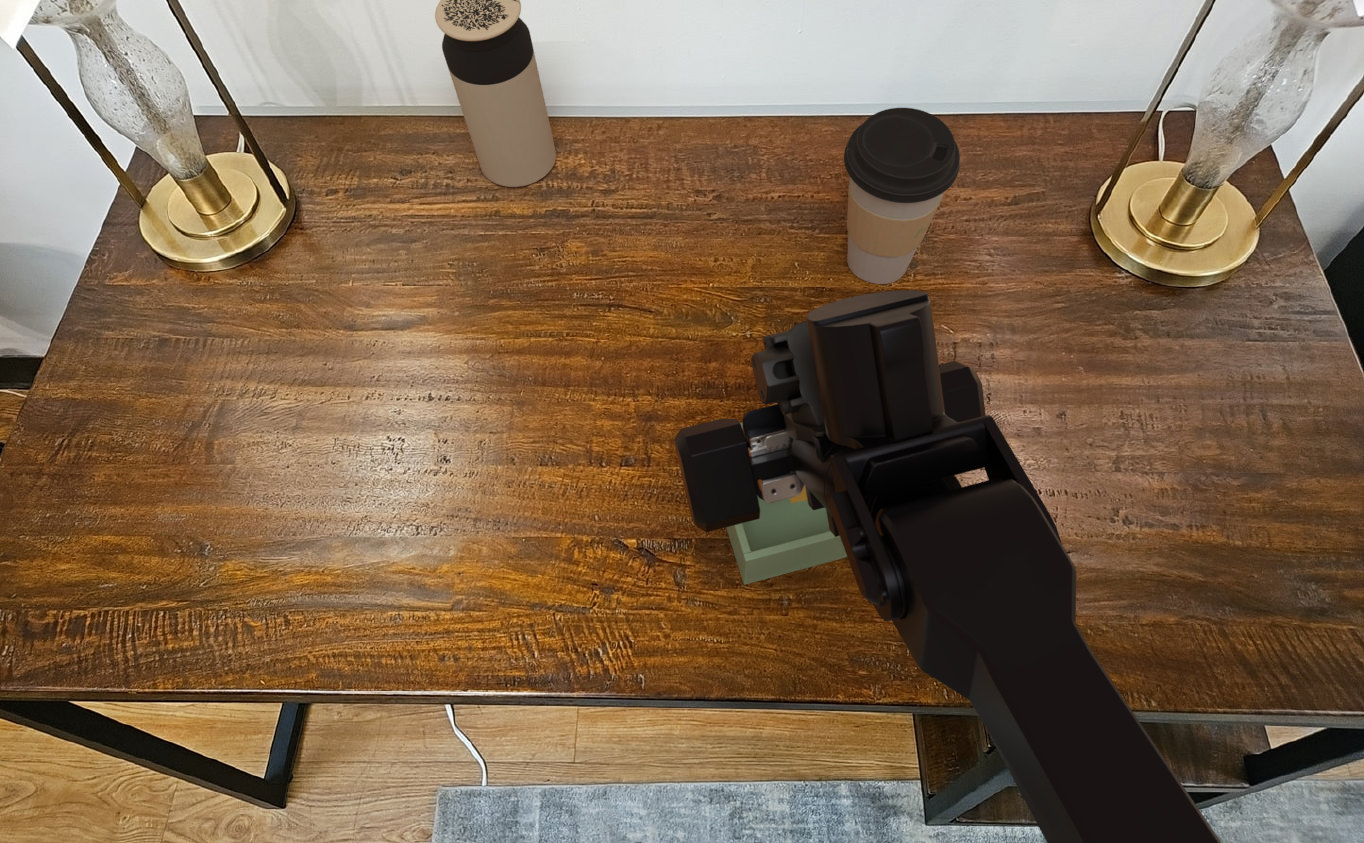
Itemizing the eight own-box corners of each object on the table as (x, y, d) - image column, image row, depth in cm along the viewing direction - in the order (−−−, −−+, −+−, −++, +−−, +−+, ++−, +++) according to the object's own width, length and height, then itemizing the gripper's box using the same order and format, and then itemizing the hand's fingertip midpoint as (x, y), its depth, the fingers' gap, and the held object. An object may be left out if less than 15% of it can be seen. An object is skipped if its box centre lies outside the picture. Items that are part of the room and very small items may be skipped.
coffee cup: (935, 296, 83) (976, 181, 69) (833, 302, 83) (855, 188, 70) (917, 219, 87) (953, 97, 74) (821, 224, 87) (839, 103, 74)
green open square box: (877, 549, 71) (889, 522, 66) (743, 585, 70) (745, 561, 65) (831, 430, 76) (838, 397, 71) (705, 462, 75) (704, 431, 70)
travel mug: (518, 201, 90) (476, 51, 74) (464, 165, 93) (412, 14, 77) (572, 155, 93) (542, 2, 77) (518, 122, 95) (478, -33, 80)
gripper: (1025, 296, 46) (905, 268, 61) (674, 381, 44) (640, 331, 59) (1044, 494, 49) (926, 421, 64) (717, 580, 47) (675, 485, 62)
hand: (795, 411), depth 62 cm, fingers closed on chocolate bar, 3 cm apart
